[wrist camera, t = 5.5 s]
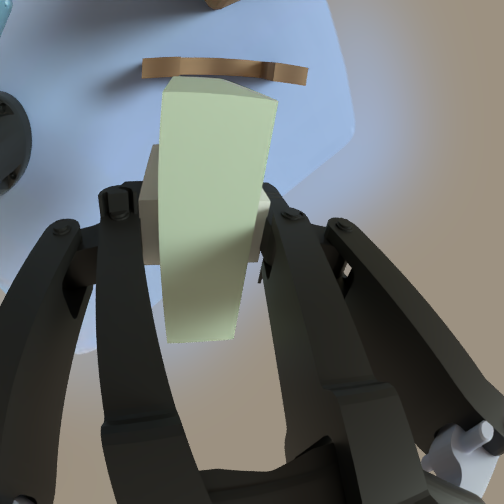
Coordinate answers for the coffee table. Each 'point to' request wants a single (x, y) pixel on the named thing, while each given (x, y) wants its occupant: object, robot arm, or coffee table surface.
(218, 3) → the wooden block
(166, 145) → the pale green block
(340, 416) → the robot arm
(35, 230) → the coffee table surface
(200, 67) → the brown wooden bracket
